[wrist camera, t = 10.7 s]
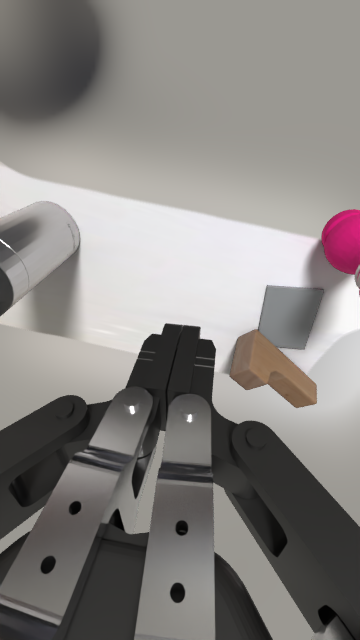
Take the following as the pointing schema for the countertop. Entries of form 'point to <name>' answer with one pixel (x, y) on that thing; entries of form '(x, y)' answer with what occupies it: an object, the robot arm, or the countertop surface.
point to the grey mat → (289, 315)
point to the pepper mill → (343, 242)
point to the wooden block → (270, 370)
